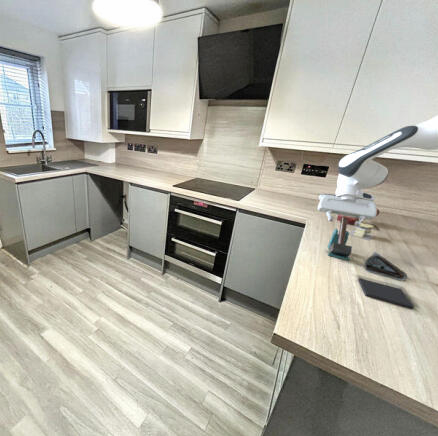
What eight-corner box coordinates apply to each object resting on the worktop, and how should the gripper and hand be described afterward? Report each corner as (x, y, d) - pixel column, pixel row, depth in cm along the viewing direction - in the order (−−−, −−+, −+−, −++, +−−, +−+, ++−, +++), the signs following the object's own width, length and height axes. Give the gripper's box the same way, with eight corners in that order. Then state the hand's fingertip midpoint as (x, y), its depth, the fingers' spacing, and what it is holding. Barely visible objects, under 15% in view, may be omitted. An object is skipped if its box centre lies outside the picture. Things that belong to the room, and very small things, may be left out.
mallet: (341, 247, 107) (353, 218, 102) (347, 261, 95) (361, 229, 90) (325, 244, 110) (336, 215, 104) (329, 257, 98) (342, 225, 92)
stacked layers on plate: (368, 240, 116) (373, 230, 114) (346, 233, 123) (350, 223, 121) (375, 236, 121) (379, 226, 119) (353, 230, 128) (357, 220, 126)
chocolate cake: (402, 274, 89) (380, 246, 92) (410, 278, 83) (387, 248, 86) (372, 283, 93) (353, 256, 96) (378, 288, 87) (357, 258, 90)
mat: (399, 291, 78) (400, 288, 78) (412, 309, 70) (414, 306, 70) (357, 280, 83) (358, 277, 83) (365, 295, 75) (366, 293, 75)
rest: (343, 250, 104) (351, 231, 101) (348, 260, 96) (357, 240, 93) (324, 246, 108) (331, 227, 104) (328, 255, 99) (335, 236, 96)
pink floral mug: (372, 225, 137) (382, 202, 132) (372, 230, 129) (383, 206, 124) (331, 215, 149) (338, 194, 144) (328, 220, 141) (336, 198, 136)
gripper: (322, 188, 109) (317, 214, 104) (379, 196, 99) (377, 225, 95) (318, 196, 114) (313, 220, 109) (372, 204, 105) (370, 231, 100)
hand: (343, 223), depth 102 cm, fingers open, 8 cm apart
